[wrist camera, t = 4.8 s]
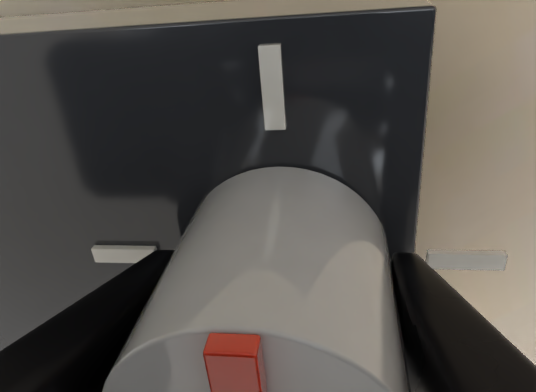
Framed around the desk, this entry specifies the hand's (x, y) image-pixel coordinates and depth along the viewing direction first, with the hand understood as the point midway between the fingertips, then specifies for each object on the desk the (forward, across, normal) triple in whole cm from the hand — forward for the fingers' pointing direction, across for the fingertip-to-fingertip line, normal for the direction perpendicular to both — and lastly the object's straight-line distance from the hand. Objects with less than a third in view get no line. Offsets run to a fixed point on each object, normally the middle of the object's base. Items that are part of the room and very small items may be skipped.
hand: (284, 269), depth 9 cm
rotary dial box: (+4, +6, 0) cm, 7 cm away
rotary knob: (0, 0, 0) cm, 0 cm away
